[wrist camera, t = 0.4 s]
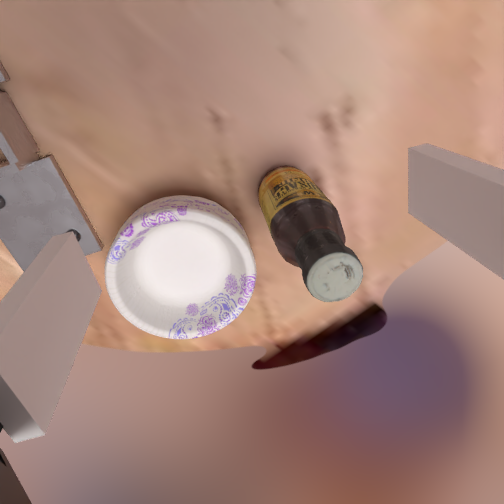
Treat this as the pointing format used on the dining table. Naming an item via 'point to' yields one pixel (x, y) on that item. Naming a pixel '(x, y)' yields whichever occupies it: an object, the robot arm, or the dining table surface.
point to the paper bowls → (180, 268)
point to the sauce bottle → (309, 233)
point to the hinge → (34, 193)
